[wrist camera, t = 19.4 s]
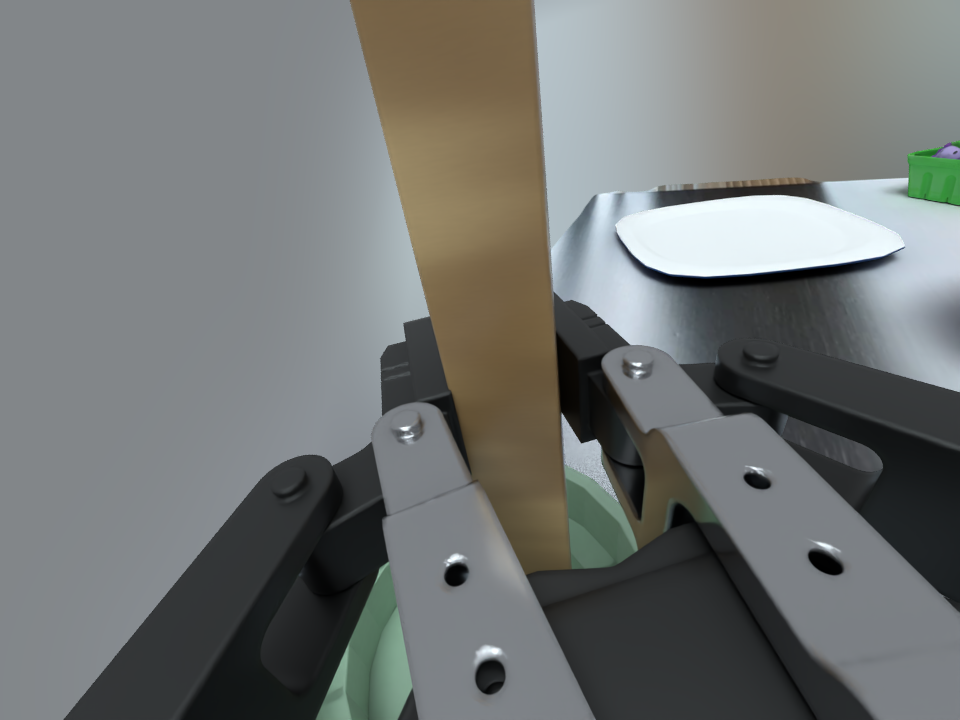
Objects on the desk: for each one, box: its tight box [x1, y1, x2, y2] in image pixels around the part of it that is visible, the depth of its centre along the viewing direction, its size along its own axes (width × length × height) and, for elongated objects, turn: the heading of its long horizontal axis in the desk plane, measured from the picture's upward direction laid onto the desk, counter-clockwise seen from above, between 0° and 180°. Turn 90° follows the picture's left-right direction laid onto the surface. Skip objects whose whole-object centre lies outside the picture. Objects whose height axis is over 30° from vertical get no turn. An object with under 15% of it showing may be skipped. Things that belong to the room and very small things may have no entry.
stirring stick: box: [350, 0, 572, 575], centre depth 10 cm, size 2×2×20 cm
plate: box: [615, 195, 905, 279], centre depth 49 cm, size 25×25×2 cm
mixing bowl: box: [316, 465, 638, 720], centre depth 15 cm, size 13×13×6 cm
